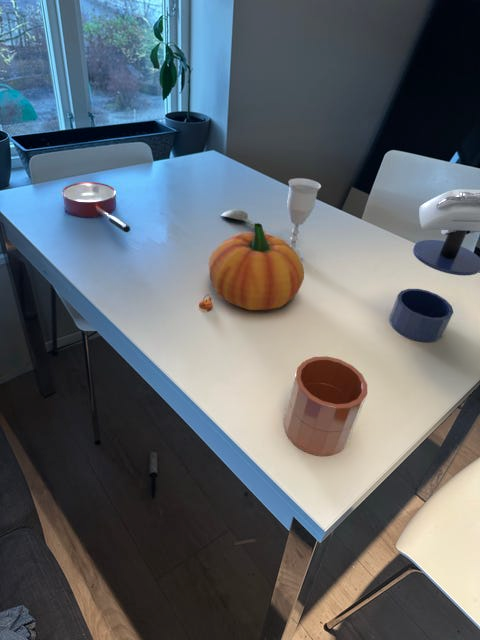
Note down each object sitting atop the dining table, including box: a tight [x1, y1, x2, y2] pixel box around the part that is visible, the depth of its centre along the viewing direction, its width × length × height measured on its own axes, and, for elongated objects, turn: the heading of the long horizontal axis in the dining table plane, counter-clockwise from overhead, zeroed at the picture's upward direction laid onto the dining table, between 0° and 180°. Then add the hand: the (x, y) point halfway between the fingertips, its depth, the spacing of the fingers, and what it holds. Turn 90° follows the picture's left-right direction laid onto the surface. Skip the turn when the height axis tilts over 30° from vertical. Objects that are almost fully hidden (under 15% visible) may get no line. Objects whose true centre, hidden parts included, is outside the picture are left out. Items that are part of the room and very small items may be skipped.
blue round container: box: [389, 288, 454, 343], centre depth 88 cm, size 10×10×6 cm
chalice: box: [286, 177, 322, 261], centre depth 102 cm, size 7×7×18 cm
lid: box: [412, 230, 480, 277], centre depth 74 cm, size 11×11×10 cm
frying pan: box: [61, 181, 131, 233], centre depth 110 cm, size 32×13×6 cm, turn 39°
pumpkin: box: [208, 222, 305, 311], centre depth 89 cm, size 19×19×15 cm
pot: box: [283, 355, 368, 457], centre depth 63 cm, size 10×10×10 cm
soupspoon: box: [220, 208, 270, 235], centre depth 116 cm, size 22×3×7 cm
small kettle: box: [198, 294, 214, 313], centre depth 87 cm, size 3×3×3 cm
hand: (455, 230), depth 74 cm, fingers closed on lid, 2 cm apart
